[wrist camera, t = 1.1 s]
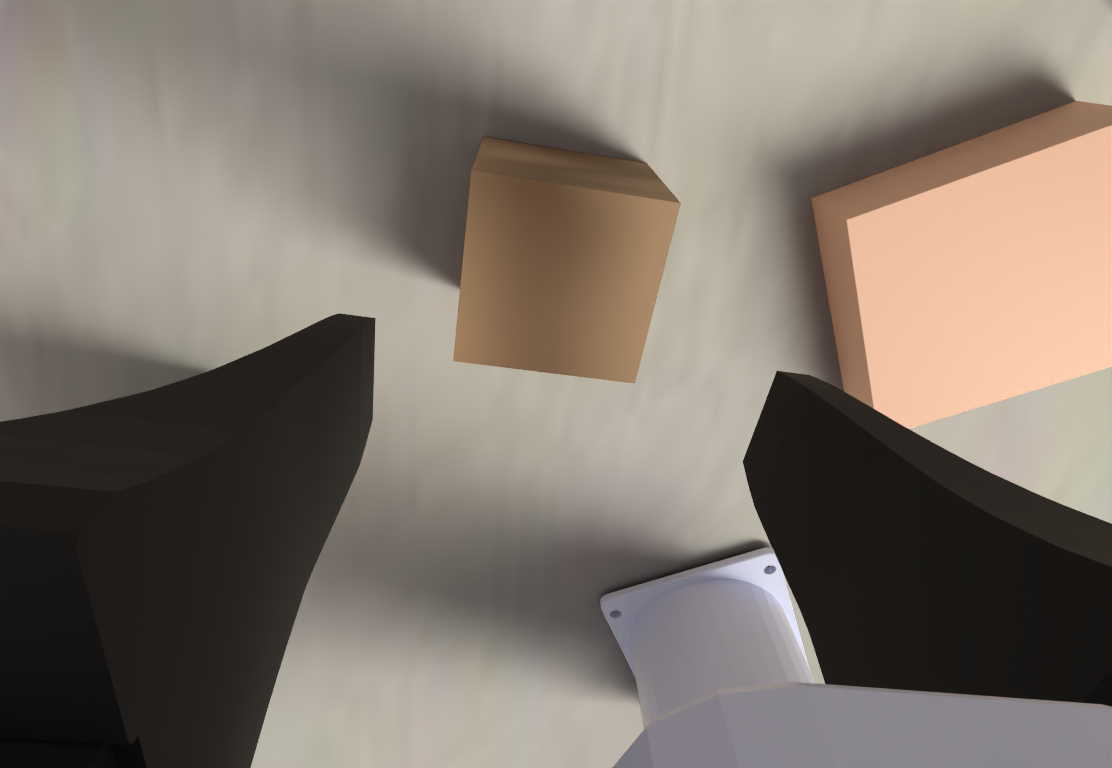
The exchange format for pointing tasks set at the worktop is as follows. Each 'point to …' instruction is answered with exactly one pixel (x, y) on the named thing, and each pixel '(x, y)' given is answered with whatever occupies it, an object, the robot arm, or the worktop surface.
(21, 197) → the worktop surface
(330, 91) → the worktop surface
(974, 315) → the base block
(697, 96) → the worktop surface
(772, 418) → the robot arm
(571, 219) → the walnut block
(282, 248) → the worktop surface
